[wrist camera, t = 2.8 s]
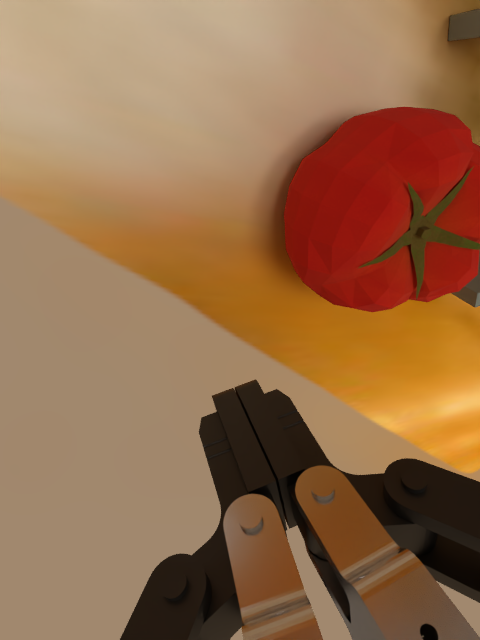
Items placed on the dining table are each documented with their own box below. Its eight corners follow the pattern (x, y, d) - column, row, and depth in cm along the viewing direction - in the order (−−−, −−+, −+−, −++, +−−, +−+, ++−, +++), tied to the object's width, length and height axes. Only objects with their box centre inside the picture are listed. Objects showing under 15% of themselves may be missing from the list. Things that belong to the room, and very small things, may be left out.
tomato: (231, 196, 24) (290, 247, 17) (389, 58, 23) (530, 46, 15) (312, 304, 30) (382, 376, 23) (441, 199, 29) (560, 240, 21)
